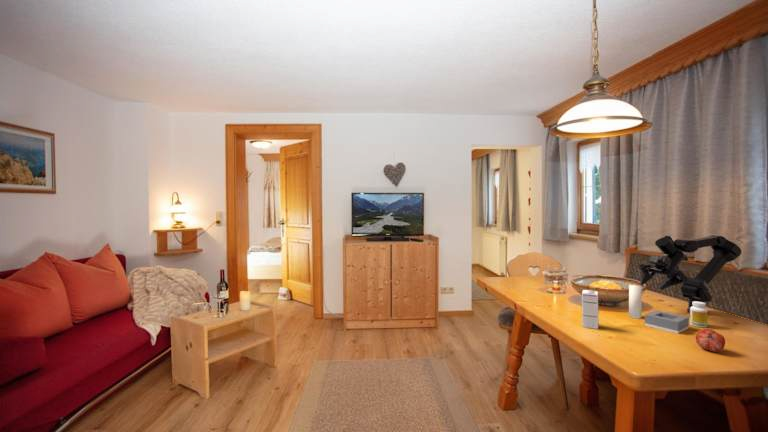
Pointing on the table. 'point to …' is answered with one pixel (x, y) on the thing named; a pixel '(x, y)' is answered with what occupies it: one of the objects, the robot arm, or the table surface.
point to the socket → (667, 321)
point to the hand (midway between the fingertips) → (650, 286)
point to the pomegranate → (710, 340)
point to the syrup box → (590, 309)
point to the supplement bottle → (698, 314)
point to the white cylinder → (635, 301)
